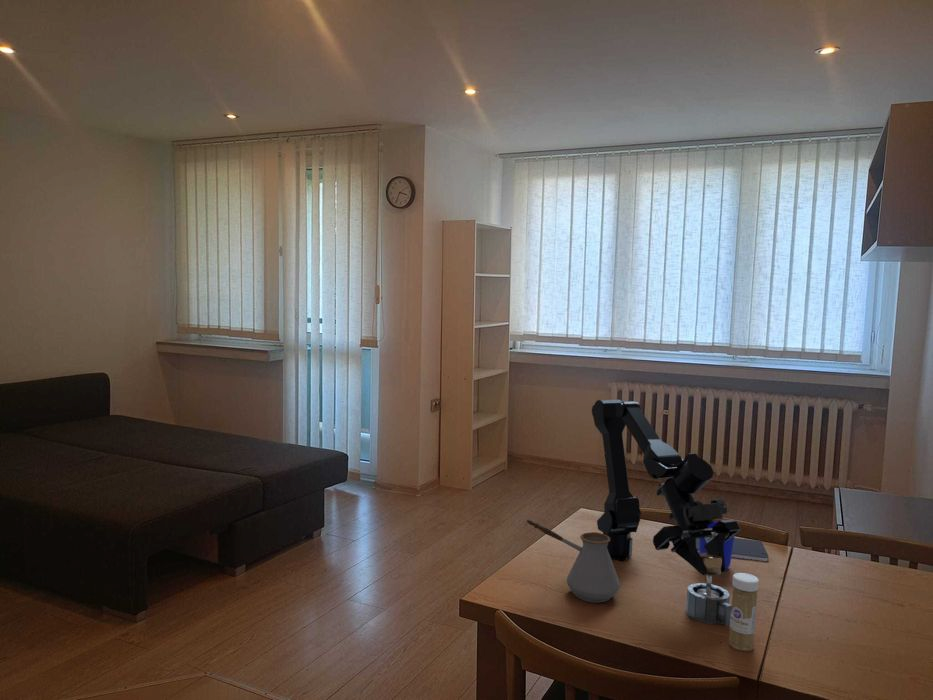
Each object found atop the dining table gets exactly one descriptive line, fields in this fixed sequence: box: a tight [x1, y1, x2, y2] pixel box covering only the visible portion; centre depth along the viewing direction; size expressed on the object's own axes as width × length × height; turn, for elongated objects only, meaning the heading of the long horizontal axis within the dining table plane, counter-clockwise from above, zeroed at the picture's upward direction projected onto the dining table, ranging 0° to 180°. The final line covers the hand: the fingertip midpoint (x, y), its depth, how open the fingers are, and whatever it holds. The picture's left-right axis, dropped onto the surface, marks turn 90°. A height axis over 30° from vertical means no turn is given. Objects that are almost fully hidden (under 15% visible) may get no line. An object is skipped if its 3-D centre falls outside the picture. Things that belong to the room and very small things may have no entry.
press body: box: [685, 582, 732, 627], centre depth 142 cm, size 10×8×5 cm
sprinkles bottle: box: [728, 572, 760, 652], centre depth 130 cm, size 5×5×14 cm
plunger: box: [697, 553, 722, 598], centre depth 142 cm, size 4×4×8 cm
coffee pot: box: [523, 519, 621, 603], centre depth 151 cm, size 21×12×15 cm, turn 75°
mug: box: [699, 521, 735, 570], centre depth 170 cm, size 8×12×10 cm
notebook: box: [696, 537, 769, 562], centre depth 182 cm, size 13×2×21 cm
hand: (714, 573), depth 141 cm, fingers closed on plunger, 4 cm apart
